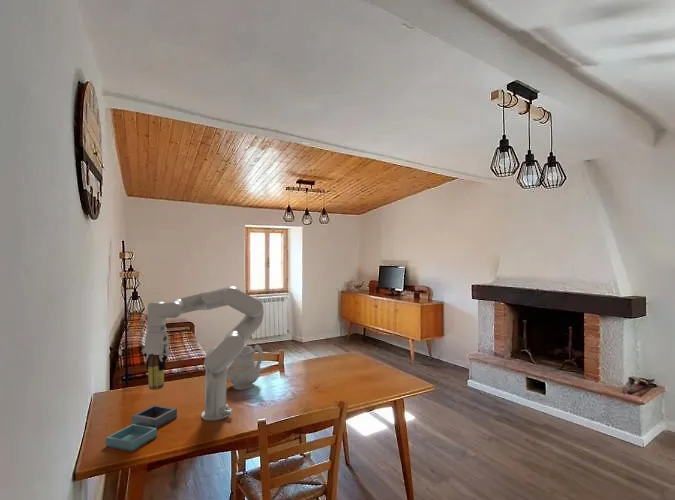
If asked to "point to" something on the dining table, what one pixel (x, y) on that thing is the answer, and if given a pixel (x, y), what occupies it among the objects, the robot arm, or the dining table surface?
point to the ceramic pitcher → (245, 368)
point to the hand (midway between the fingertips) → (156, 368)
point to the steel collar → (146, 420)
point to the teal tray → (131, 437)
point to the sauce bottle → (155, 373)
